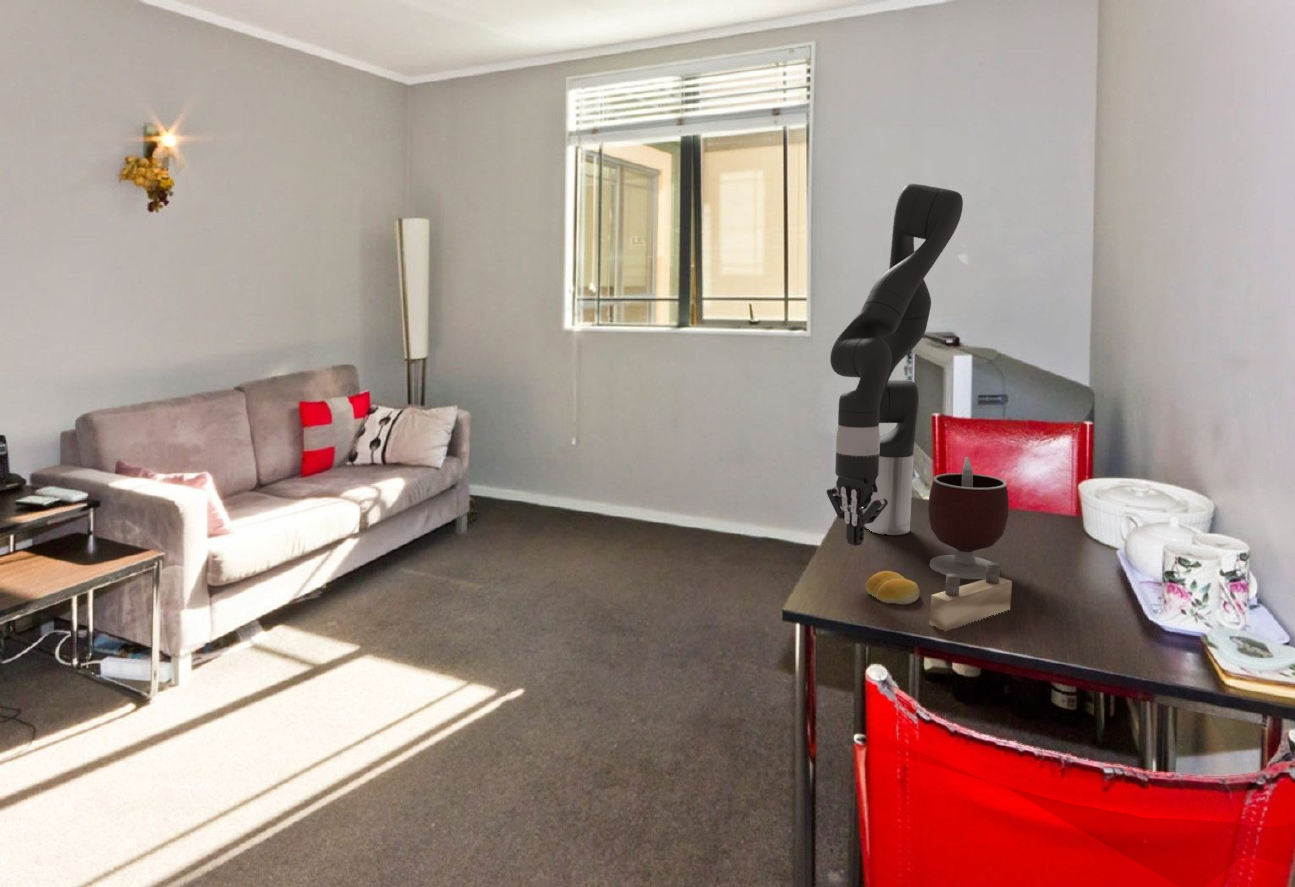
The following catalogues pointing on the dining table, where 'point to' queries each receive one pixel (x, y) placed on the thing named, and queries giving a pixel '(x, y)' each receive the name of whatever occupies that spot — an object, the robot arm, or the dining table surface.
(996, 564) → the bar
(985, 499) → the mate gourd
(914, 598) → the bread roll
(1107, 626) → the dining table surface
